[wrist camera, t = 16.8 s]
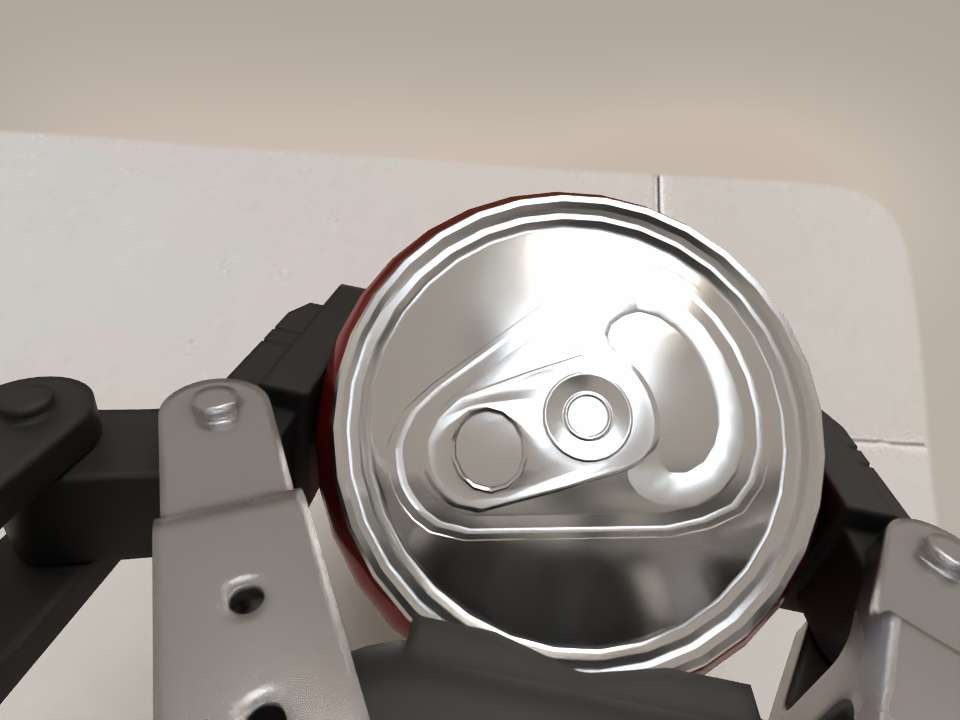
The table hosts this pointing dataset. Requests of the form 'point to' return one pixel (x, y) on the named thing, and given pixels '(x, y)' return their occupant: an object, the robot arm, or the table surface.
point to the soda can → (572, 436)
